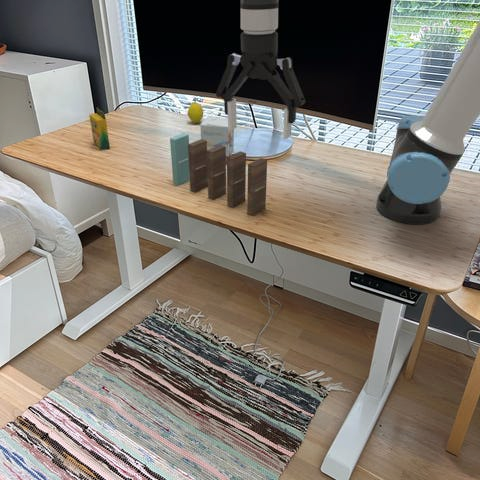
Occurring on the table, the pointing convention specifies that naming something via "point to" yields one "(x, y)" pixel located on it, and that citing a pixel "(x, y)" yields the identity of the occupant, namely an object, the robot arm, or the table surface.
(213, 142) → the ink box
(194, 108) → the fruit
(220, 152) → the domino
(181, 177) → the domino
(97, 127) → the crayon box
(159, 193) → the table surface
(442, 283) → the table surface
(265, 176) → the domino
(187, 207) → the table surface
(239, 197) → the domino
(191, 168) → the domino
